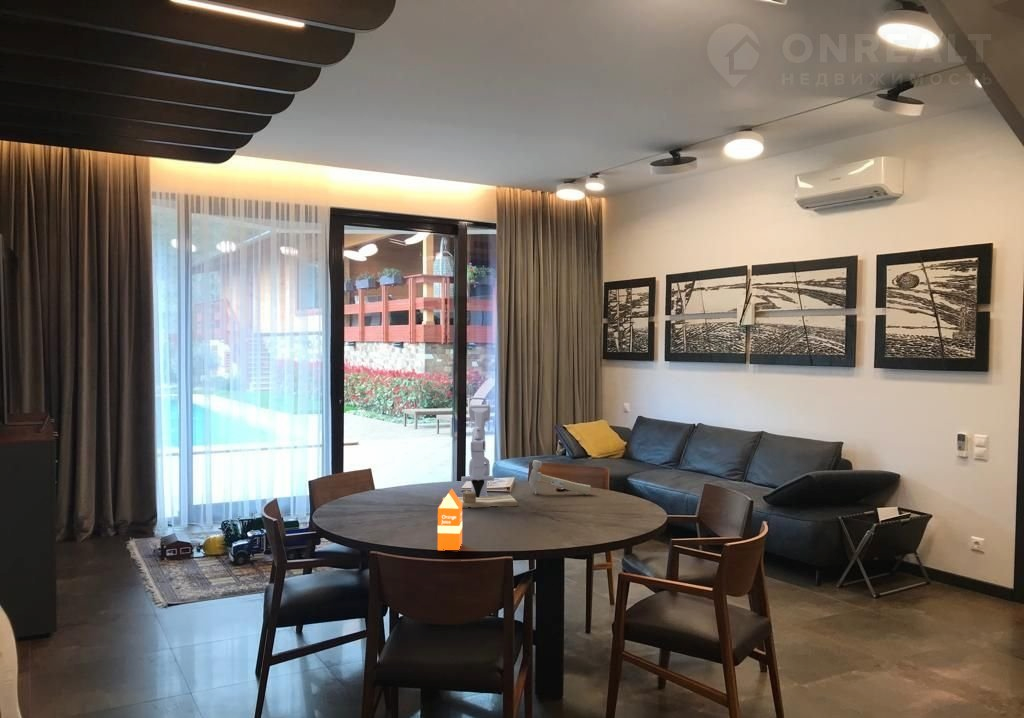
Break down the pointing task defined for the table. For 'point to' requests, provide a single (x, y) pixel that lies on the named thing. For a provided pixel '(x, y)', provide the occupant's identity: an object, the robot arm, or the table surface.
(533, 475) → the hammer
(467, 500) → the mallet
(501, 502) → the board
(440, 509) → the orange juice
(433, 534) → the table surface
